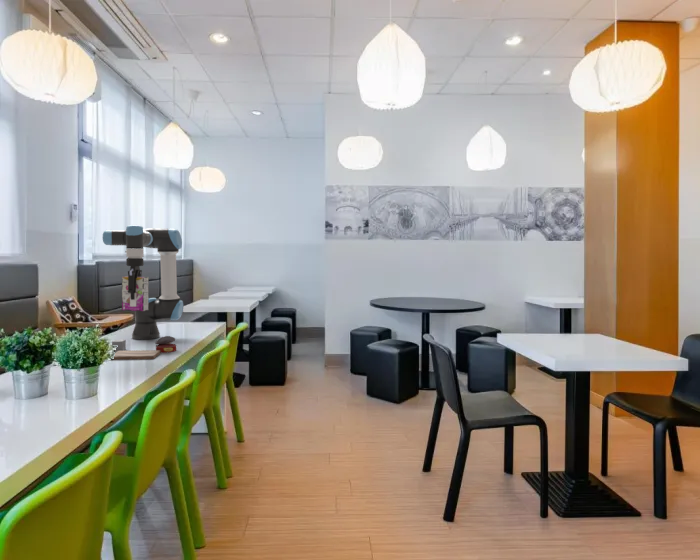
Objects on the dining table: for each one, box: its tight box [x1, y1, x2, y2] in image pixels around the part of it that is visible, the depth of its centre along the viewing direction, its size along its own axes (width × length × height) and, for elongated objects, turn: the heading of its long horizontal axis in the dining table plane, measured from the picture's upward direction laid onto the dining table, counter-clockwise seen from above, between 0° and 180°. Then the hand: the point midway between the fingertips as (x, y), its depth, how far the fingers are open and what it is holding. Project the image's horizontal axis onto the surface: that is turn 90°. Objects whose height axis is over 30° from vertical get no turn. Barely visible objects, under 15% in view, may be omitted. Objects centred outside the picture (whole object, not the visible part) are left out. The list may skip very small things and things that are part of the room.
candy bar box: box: [121, 275, 149, 312], centre depth 227 cm, size 11×5×16 cm, turn 85°
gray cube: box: [111, 339, 127, 352], centre depth 243 cm, size 5×5×5 cm
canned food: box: [154, 335, 177, 354], centre depth 243 cm, size 11×10×10 cm
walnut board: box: [112, 349, 162, 361], centre depth 229 cm, size 14×20×2 cm
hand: (135, 305), depth 228 cm, fingers closed on candy bar box, 6 cm apart
